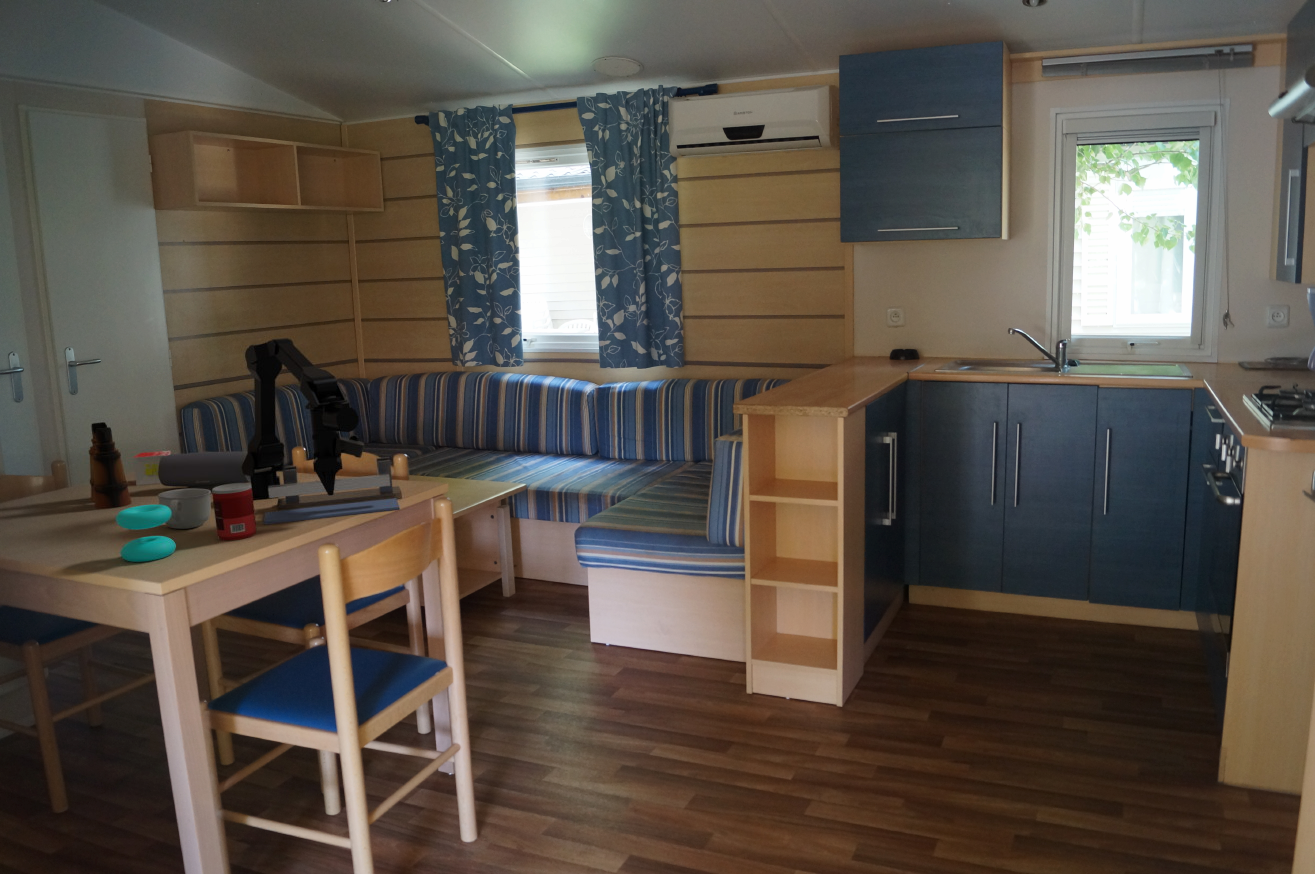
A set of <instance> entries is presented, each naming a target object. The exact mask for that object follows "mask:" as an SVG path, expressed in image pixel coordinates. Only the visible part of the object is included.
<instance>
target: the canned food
mask: <svg viewBox="0 0 1315 874" xmlns="http://www.w3.org/2000/svg"><path fill="white" fill-rule="evenodd" d="M211 494H212V504H213V509H214V510H213V511H214V518H215V528H216V535H217V537H218V539H219V540H221V541H225V542H226V541H239V540H243V539H248V538H251V537H252V536H254V535H256V532H257V524H256V523H257V522H256V513H255V507H254V499H253V494H252V487H251V483H250V482H249V483H233V484H226V485H221V486H217V487H215V488H213V489H211Z"/></svg>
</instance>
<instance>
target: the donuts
mask: <svg viewBox="0 0 1315 874" xmlns="http://www.w3.org/2000/svg"><path fill="white" fill-rule="evenodd" d="M170 517H171V510H170V508H169V507H167V506H165V505H159V504H154V503H153V504H144V505H143V504H142V505H137V506H131V507H128V508H125V509H123V510H120V511H119V512H118V514H116V517H115V521H116V524H118V526H120V527H121V528H122V529H127V530H135V531H136V530H147V529H151V528H155V527H156V528H157V527H159V526H162V525H164V524H166V523H165V522H167V521H168V520H169V519H170ZM176 548H177V545H176V543H175V541H174V540H173V539H172V538H170V537H168V536H165V535H164V536H163V535H150V536H143V537H142V536H141V537H138V538H135V539H132V540H130V541H129V542H127V543H126V544H124V545H123V547H122V548H121V550H120V556H121V558H122V559H124V560H125V561H126V562H133V563H143V562H150V561H151V562H152V561H156V560H159V559H164V558H167V557H168V556H171V555H172V554H173V553H174V552H175V550H176Z"/></svg>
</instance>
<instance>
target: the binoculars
mask: <svg viewBox="0 0 1315 874" xmlns="http://www.w3.org/2000/svg"><path fill="white" fill-rule="evenodd" d="M91 434H92V435H91V436H92V438H91V441H90V442H91V443H92V446H90V447H89V449H88V454H89V469H90V478H89V484H90V502H92V503H94V508H95V509H97V510H110V509H118V508H122V507H126V506H129V505H132V499H131V495H130V492H129V488H128V486H129V483H128V481H127V479H126V475H125V470H124V466H123V462H122V458H121V457H122V454H121V451H119V449H117V447H116V446H115V445H116V442H115V441H114V439H113V432H112V428H111V427H108V425H107V424H106V422H104V421H103V422H101V421H100V422H95V423H91Z"/></svg>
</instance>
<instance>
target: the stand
mask: <svg viewBox="0 0 1315 874" xmlns="http://www.w3.org/2000/svg"><path fill="white" fill-rule="evenodd" d="M375 460H376V471H377V475H383V474H389V478H390V486H382V487H375V488H366V489H356V490H347V491H337V492H334V494H333V495H330V496H329V495H328V493H318V494H308V495H294V496H284V497H280V498H278V499H277V502H276V503H277V504H276V509H277V510H276V511H283V510H292V509H302V508H311V507H320V506H329V505H339V504H348V503H357V502H366V501H376V500H385V499H394V498H396V499H403V493H402V490H401V487H400V485H395V486H393V479H392V478H393V477H392V467H391V460H390V456H387V457H386V456H385V457H376V459H375ZM282 477H283V478H282V479H283V484H292V483H299V478H298V470H297V465H293V466H292V465H291V466H289V465H288V466H283V471H282Z"/></svg>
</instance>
